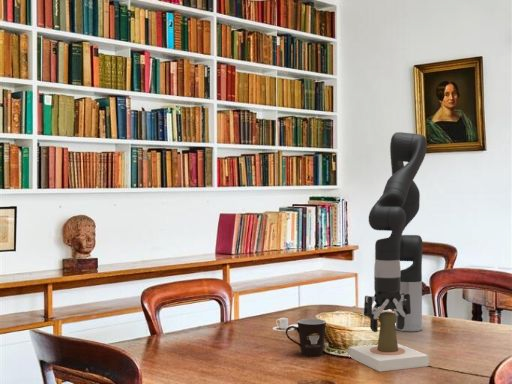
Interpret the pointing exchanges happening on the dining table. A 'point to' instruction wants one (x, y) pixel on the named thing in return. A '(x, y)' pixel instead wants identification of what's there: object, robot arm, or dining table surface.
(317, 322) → the coffee mug
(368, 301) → the robot arm
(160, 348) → the dining table surface
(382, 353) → the plinth
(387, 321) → the brown pawn
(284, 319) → the teacup and saucer
